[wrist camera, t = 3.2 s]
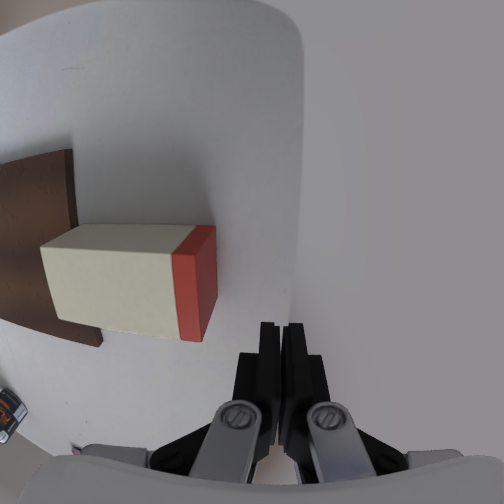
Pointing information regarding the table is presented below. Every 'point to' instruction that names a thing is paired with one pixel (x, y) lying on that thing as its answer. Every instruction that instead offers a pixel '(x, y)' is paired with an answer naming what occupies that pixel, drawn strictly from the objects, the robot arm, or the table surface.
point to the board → (36, 241)
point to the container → (135, 278)
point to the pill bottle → (10, 414)
